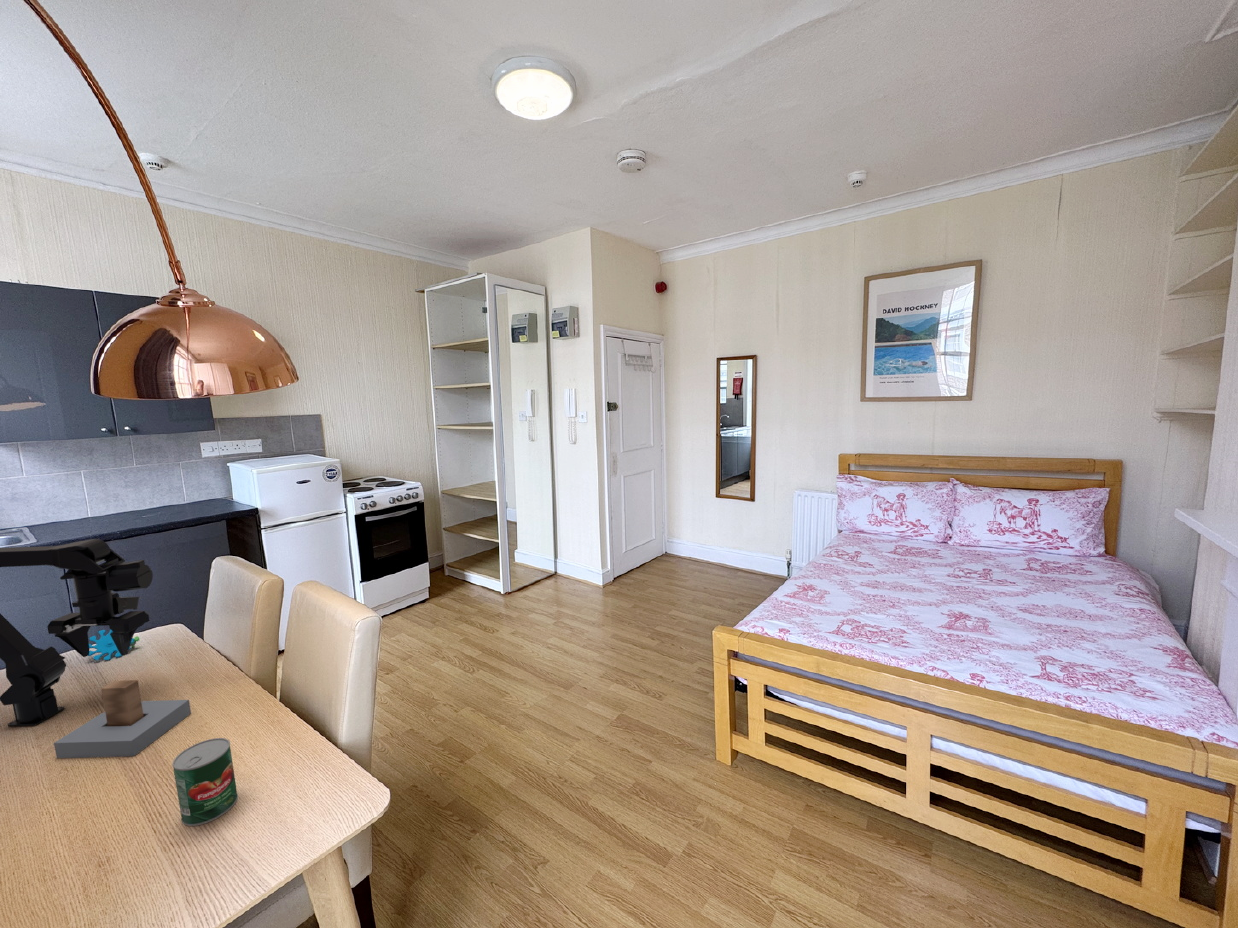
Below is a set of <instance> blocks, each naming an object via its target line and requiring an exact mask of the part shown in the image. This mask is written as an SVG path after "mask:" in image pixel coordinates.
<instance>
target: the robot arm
mask: <svg viewBox="0 0 1238 928" xmlns="http://www.w3.org/2000/svg"><path fill="white" fill-rule="evenodd" d="M103 561H104V562H103ZM101 562H102V563H101ZM145 563H146V562H145V560H144V559H140V560H139V559H138V560H135V561H128V562H126V559H124V558H123V557H122V556H120V555H119V554H118V553H116V552H115V550H113V549H111V548H110V545H109V544H108V543H106V542H105V541H104V539H99V538H93V539H91V538H90V539H85V540H80V541H74V542H70V543H66V544H65V543H64V544H61V545H50V546H49V545H48V546H46V545H45V546H44V545H43V546H19V547H18V546H17V547H16V546H15V547H13V546H12V547H0V568H12V567H16V568H17V567H35V566H36V567H37V566H40V567H41V566H49V567H56V568H58V569H61V570H64V569H65V570H67V571H66V572H65V573H64V574H62V576H60V577H59V579H60V580H62V581H63V580H72V579H73V584H74V585H73V586H74V589H75V595H76V601H73V602H71V605H72V608H78V611H79V612H69V613H68V614H67V613H66V614H64V615H62V616H60V617H58V618H55V619H52V620H51V621H50V622H49V623H48V625H47V627H46V628H47V634H49V635H52V634H53V635H54V637H55V638H59V639H60V640H62V641H63V642H64V643H66V644H67V645H69V646H70V647H71V648H72V649H73V650H74V651H75V652H77V653H78V654H79V655H80V656H81V657H83V658H86V657H89V656H88V655H89V651H90V649H89V643H90V640H89V633H88V632H89V630H90V628H91V627H97V626H98V627H99V626H100V627H101V626H103V627H105V626H106V627H107V626H109V631H110V630H112V631H113V632H112V633H110V635H111V637H112V639H113V641H114V643H115V645H116V647H117V649H118V651H119V653H120V654H121V655H122V656H121V657H124V656H126V655H128V653H129V651H130V649H129V647H131V646H130V644H131V641H132V638H134V635H135V633H136V631H137V630H138V629H139V628H140V627H142V626H144V625H145V624H146V623H148V622H149V621H150V615H149V612H148V611H145V610H139V611H138V608H139V602H140V596H120V593H119V592H126V591H136V590H145V589H147V588H149V587H150V585H151V584H152V582H153V577H154V575H153V574H154V573H153V570H152V569H151V567H150V566H149V565H148V564H145ZM125 610H130V611H128V612H125ZM131 610H132V611H131ZM116 615H119V616H116ZM65 659H66V657H65V656H63V655H62V654H60V653H59V652H58V651H57V649H56V648H55V647H53V646H49V647H47V648H45V649H43V648H39V647H36V646H34V645H33V644H32V643H31V642H30V641H29V640H28V639H27V638H26V637H25V636H24V635H23V634H22V633H21V632H20V631H19V630H18V629H17V628H15V626H14V625H12V623H11V622H10V621H9V620H8V619H7V618H6V617H4V615H3V614H1V613H0V660H1V661H2V662H3V663H4V664H5V665H4V666H5V677H6V679H7V681H8V682H9V683H10V686H9V687H8V688H7V689H6V690H5V691H4V692H3V693H2V694H1V695H0V702H1V704H2V705H3V706H10V705H12V709H13V713H14V718H15V719H14V720H12V721H11V722H9V723H7V727H32V726H37V725H39V724H41V723H43V722H44V721H46V720H48V719H49V718H51V717H53V716H54V715H56V714H58V713H60V712H62V711H63V710H65V709H66V707H65V706H63V705H62V706H58V701H57V697H56V695H55V691H54V688H51V687H52V686H54V685H55V684H58V683H59V682H60V679H61V676H62V675H63V674H64V673H65V672H66V667H67V663H66V662H65Z"/></svg>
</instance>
